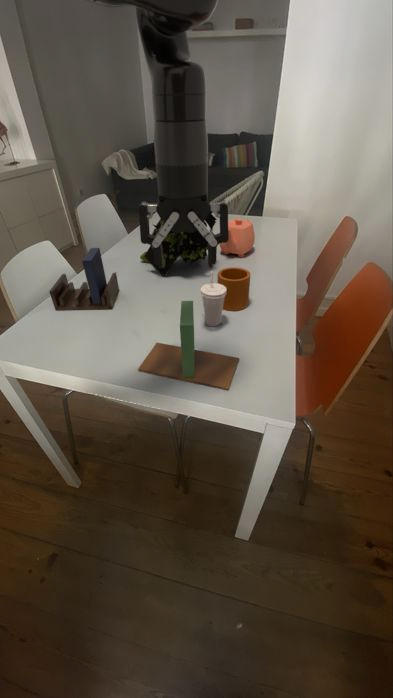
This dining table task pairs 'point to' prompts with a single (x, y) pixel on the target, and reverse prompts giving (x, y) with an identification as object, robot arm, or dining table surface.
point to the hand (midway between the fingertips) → (185, 266)
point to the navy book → (95, 274)
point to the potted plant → (180, 246)
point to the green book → (187, 338)
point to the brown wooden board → (207, 366)
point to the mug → (235, 287)
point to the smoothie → (213, 301)
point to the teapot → (239, 237)
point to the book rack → (82, 295)
